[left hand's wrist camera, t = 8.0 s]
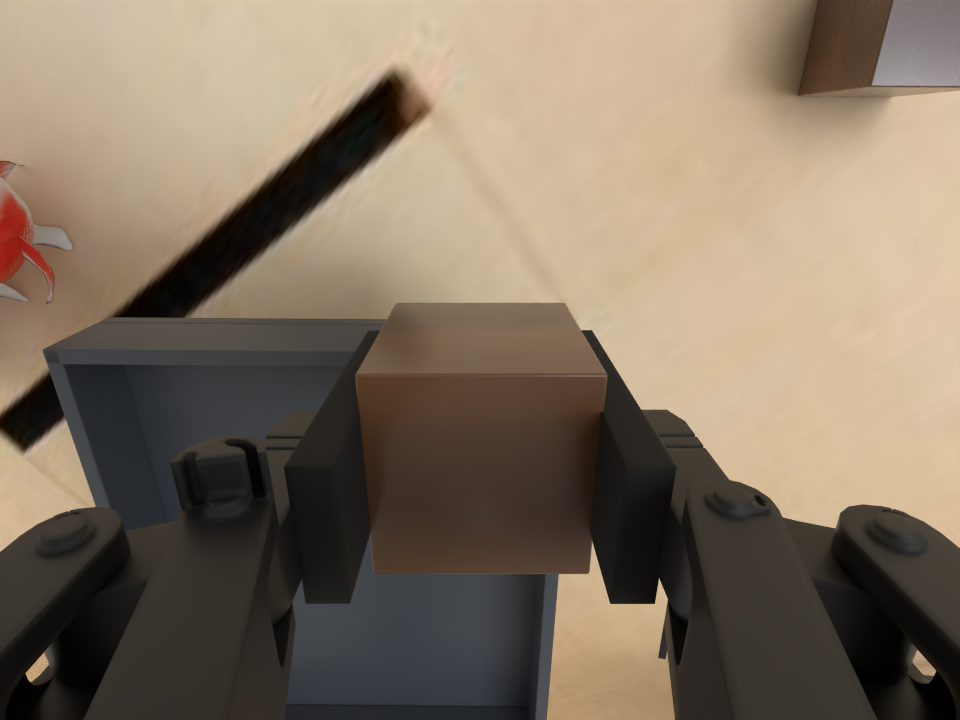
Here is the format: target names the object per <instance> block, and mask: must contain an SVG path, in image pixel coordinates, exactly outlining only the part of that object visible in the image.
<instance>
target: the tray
mask: <svg viewBox="0 0 960 720" xmlns="http://www.w3.org/2000/svg"><path fill="white" fill-rule="evenodd" d="M385 322H386V320H378V319H244V318H108V319H105V320H103V321H101V322H100V323H97V324H95V325H93V326H91V327H88V328H86V329H84V330H82V331H80V332H78V333H76V334H74V335H72V336H70V337H68V338H66V339H64V340H62V341H59V342H57V343H55V344H53V345H51V346H49V347H47V348H45V349H43V353H44V356H45V359H46V362H47V365H48V368H49V370H50V373H51V376H52V379H53V382H54V385H55V388H56V391H57V394H58V397H59V400H60V403H61V406H62V409H63V411H64V414H65V417H66V420H67V423H68V426H69V429H70V432H71V435H72V438H73V441H74V444H75V447H76V449H77V452H78V455H79V458H80V461H81V464H82V467H83V470H84V473H85V476H86V479H87V482H88V485H89V487H90V490H91V493H92V496H93V499H94V502H95V505H96V507H103V508H109V509H113V510H115V511H116V512H117V513H118V514H120V515H121V518H122V521H123V524H124V528H125V531H128V530H133V529H138V528H143V527H148V526H153V525H158V524H163V523H167V522H171V521H175V520H177V519H178V516H179V514H180V512H181V510H182V509H181V505H180V501H179V497H178V493H177V489H176V485H175V481H174V477H173V474H172V470H171V466H170V462H171V461H172V460H173V459H174V458H175V457H176V456H177V455H178V454H179V453H180V452H182V451H184V450H185V449H187V448H189V447H190V446H192V445H194V444H197V443H200V442H203V441H205V440H208V439H212V438H217V437H223V436H228V435H246V436H250V437H255V438H258V439H259V440H261V441H263V439H266V435H267V434H268V433H269V431H270V430H271V429H272V427H273V426H274V425H275V423H277V422H278V421H280V420H281V419H283V418H284V417H286V416H288V415H289V414H291V413H292V412H318V411H319V409H320V408H321V406H322V405H323V403H324V401H325V400H326V398H327V397H328V395H329V393H330V392H331V390H332V388H333V387H334V385H335V384H336V382H337V380H338V379H339V377H340V376H341V374H342V372H343V371H344V369H345V367H346V366H347V364H348V363H349V361H350V359H351V358H352V356H353V355H354V353H355V351H356V350H357V348H358V346H359V345H360V343H361V342H362V340H363V338H364V337H365V335H366V334H367V332H368V330H381V329H382V327H383V326H384V324H385ZM558 575H559V574H374V573H373V568H372V557H371V546H370V536H369V539H368V543H367V546H366V550H365V553H364V557H363V560H362V564H361V567H360V571H359V574H358V578H357V581H356V585H355V588H354V592H353V595H352V599H351V602H350V604H306V603H305V597H304V591H303V584H302V580H301V582H300V585H299V587H298V589H297V592H296V594H295V597H294V599H293V601H292V603H293V609H294V615H295V622H296V627H295V636H294V644H293V653H292V662H291V671H290V680H289V688H288V697H287V706H286V715H285V720H547V708H548V696H549V684H550V672H551V660H552V647H553V635H554V623H555V611H556V599H557V587H558Z"/></svg>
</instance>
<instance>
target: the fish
mask: <svg viewBox="0 0 960 720" xmlns="http://www.w3.org/2000/svg"><path fill="white" fill-rule="evenodd" d="M15 165H20V166H24V165H21V164H18V163H12V162H9V161H0V296H1V297H6V298H10V299H14V300H18V301H22V302H28V301H29V300H28V299H27V298H25V297H24V296H22V295H21V294H19V293H18V292H16V291H15V290H13V289H12V288H10V287H9V286H6V285H4V284H2V282H4V281H6V280H8V279H9V278H11V277H12V276H13V275H14V274H15V272H16V271H17V270H18V269H19V268H20V267H21V266H22V265H23V264H24V262H25V261H26V259H28V260H29V261H30V262H31V263H32V264H34V265H35V266H36V267H38V268H39V269H40V270H41V271H42V272H43V273H44V275H45V277H46V278H47V281H48V284H49V287H50V292H49V297H48V302H46V303H47V304H48V303H50V302H52V301H53V294H54V275H53V272H52V269H51V267H50V266H49V265H48V264H47V263H46V261H45V260H44V258H43V257H42V255H41V253H40V252H39V251H38V250H37V249H36V248H34V247H33V246H32V245H49V246H53V247H56V248H60V249H63V250H65V251H69V250H71V249H72V248H73V246H72V243H71V242H70V240H69V238H68V237H67V235H66V233H65V232H64V231H63V230H62V229H61V228H58V227H44V226H38V225H36V224H34V223H33V221H32V214H31V212H30V210H29V208H28V207H27V205H26V204H25V203H24V201H23V200H22V199H21V198H20V197H19V195H18V194H17V193H16V192H15V191H14V190H13V189H12V188H11V187H10V186H9V185H8V184H7V183H6V182H5V181H4V180H5V178H6V177H7V175H8V173H9V172H10V171H11V170H12V169H13V167H14V166H15Z"/></svg>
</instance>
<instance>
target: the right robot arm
mask: <svg viewBox="0 0 960 720" xmlns="http://www.w3.org/2000/svg"><path fill="white" fill-rule="evenodd" d="M924 676H925V677H926V678H927V679H928V680H930V681H931V680H932V679H933V678H934V676H927V675H924Z"/></svg>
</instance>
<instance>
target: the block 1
mask: <svg viewBox="0 0 960 720" xmlns="http://www.w3.org/2000/svg"><path fill="white" fill-rule="evenodd" d="M355 381H356V392H357V403H358V411H359V414H360V426H361V437H362V448H363V459H364V470H365V481H366V492H367V503H368V514H369V525H370V546H371V557H372V568H373V573H374V574H588V573H589V570H590V559H591V548H592V538H591V534H590V530H591V519H592V508H593V497H594V486H595V475H596V464H597V453H598V442H599V431H600V420H601V412H604V408H605V397H606V387H607V373H606V372H605V370H604V368H603V367H602V365H601V363H600V362H599V360H598V358H597V357H596V355H595V353H594V352H593V350H592V348H591V346H590V345H589V343H588V341H587V340H586V338H585V336H584V335H583V333H582V331H581V330H580V328H579V326H578V325H577V323H576V321H575V319H574V318H573V316H572V314H571V313H570V311H569V309H568V308H567V306H566V304H565V303H397V304H396V305H395V307H394V308H393V310H392V312H391V314H390V315H389V317H388V319H387V320H386V322H385V324H384V326H383V327H382V329H381V331H380V333H379V334H378V336H377V338H376V340H375V341H374V343H373V345H372V347H371V348H370V350H369V352H368V354H367V355H366V357H365V359H364V361H363V362H362V364H361V366H360V368H359V369H358V371H357V373H356V375H355Z"/></svg>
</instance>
